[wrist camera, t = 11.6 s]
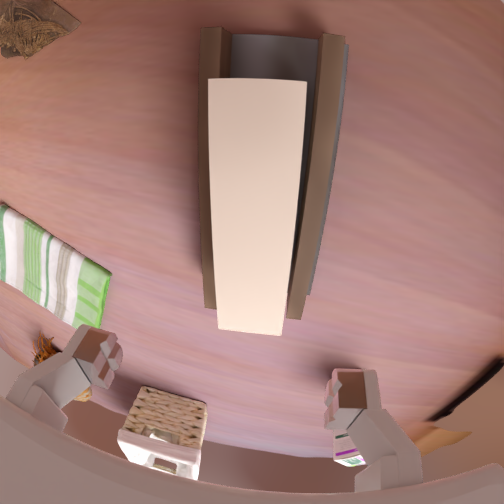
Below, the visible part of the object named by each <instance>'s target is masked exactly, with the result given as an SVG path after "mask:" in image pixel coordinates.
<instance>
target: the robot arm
mask: <svg viewBox="0 0 504 504" xmlns="http://www.w3.org/2000/svg"><path fill="white" fill-rule="evenodd" d="M117 339H118V338H117V336H116V334H115V333H112V332H109V331H105V330H102V329H98V328H95V327H92V326H89V325H85V324H82V325H80V326H79V327H78V329H77V330H76V332H75V333H74V335H73V336H72V338H71V339H70V341H69V343H68V344H67V346H66V347H65V349H64V350H63V352H62V353H61V352H59V353H57V354H55V355H53V356H52V357H50V358H48V359H46V360H45V361H43V362H41V363H39V364H38V365H36V366H34V367H32V368H31V369H29V370H27V371H26V372H24V373H22V374H20V375H19V376H18V378H17V380H16V381H15V383H14V385H13V386H12V388H11V390H10V391H9V393H8V395H7V397H6V398H4V397H2V396H1V395H0V504H504V469H503V468H502V467H501V466H500V465H498V464H495V463H494V464H489V465H486V466H484V467H480V468H478V469H475V470H471V471H468V472H465V473H461V474H458V475H454V476H451V477H447V478H443V479H439V480H434V481H430V482H425V483H423V475H422V465H421V455H420V450H419V449H418V448H417V447H416V446H415V444H414V443H413V442H412V441H411V439H410V438H409V437H408V436H407V435H406V433H405V432H404V431H403V430H402V429H401V427H400V426H399V425H398V424H397V422H396V421H395V420H394V419H393V418H392V416H391V415H390V414H389V413H388V411H387V410H386V409H382V407H381V399H380V392H379V385H378V378H377V372H376V371H375V370H361V369H340V368H335V369H334V370H333V372H332V379H330V380H328V383H327V385H326V390H325V404H326V406H327V407H328V409H327V410H326V412H325V429H333V430H346V432H347V433H348V435H349V437H350V438H351V440H352V442H353V443H354V445H355V446H356V448H357V450H358V451H359V453H360V455H361V456H362V458H363V460H364V461H365V463H366V464H367V466H368V467H367V468H366V469H364V470H363V471H361V472H360V473H358V474H357V475H356V476H355V492H350V493H322V494H318V493H316V494H314V493H311V494H310V493H284V492H270V491H260V490H251V489H243V488H236V487H229V486H223V485H218V484H212V483H207V482H202V481H198V480H193V479H189V478H185V477H180V476H177V475H173V474H169V473H165V472H162V471H158V470H155V469H152V468H149V467H145V466H142V465H139V464H136V463H133V462H130V461H128V460H125V459H122V458H119V457H117V456H114V455H111V454H109V453H107V452H104V451H102V450H99V449H97V448H94V447H92V446H90V445H88V444H86V443H83V442H81V441H79V440H77V439H75V438H72V437H70V436H69V435H67V434H65V433H63V430H64V427H65V425H66V423H67V421H68V418H67V416H66V415H65V414H64V413H63V412H62V411H61V408H62V407H64V406H65V405H66V404H67V403H69V402H70V401H71V400H73V399H74V398H75V397H77V396H78V395H79V394H80V393H82V392H83V391H84V390H86V389H87V388H88V387H89V386H91V384H93V385H96V386H99V387H102V388H105V389H108V390H109V387H110V385H111V383H112V381H113V379H114V377H115V376H114V371H115V370H116V369H118V368H119V367H120V364H121V362H122V357H123V351H122V348H121V346H120V345H119V344H118V343H117V342H116V341H117Z"/></svg>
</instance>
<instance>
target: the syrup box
mask: <svg viewBox="0 0 504 504" xmlns="http://www.w3.org/2000/svg"><path fill="white" fill-rule="evenodd" d="M333 459H334V461H337V462H339V463H341V464H343V465H346V466H348V467H351V466H358V465H363V464H366V463H365V461H364V460H363V458H362V456H361V455H360V453H359V451H358V450H357V448H356V446H355V445H354V443H353V442H352V440H351V438H350V437H349V435H348V433H347V432H346V430H333Z"/></svg>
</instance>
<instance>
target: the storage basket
mask: <svg viewBox="0 0 504 504" xmlns="http://www.w3.org/2000/svg"><path fill="white" fill-rule="evenodd" d="M206 409H207V405H206V404H205V403H203V402H200V401H196V400H192V399H189V398H185V397H181V396H178V395H175V394H171V393H168V392H165V391H161V390H157V389H155V388H152V387H146V386H142V387H141V388H140V391H139V393H138V394H137V398H136V399H135V400H134V403H133V406H132V407H131V409H130V411H129V415H128V416H127V419H126V421H125V424H124V426H123V427H122V428H121V429H119V432H118V438H117V441H118V444H119V446H120V448H121V449H122V451H123V452H124V454H125V455H126V456H127V457H128V460H129V461H130V462H133V463H136V464H139V465H142V466H145V467H149V468H152V469H155V470H158V471H162V472H165V473H169V474H173V475H177V476H180V477H185V478H189V479H193V480H197V479H198V474H199V466H200V461H201V446H202V441H203V435H204V432H205V428H206V423H207V421H206V420H207V414H208V413H207V410H206ZM156 457H158V458H161V459H165V460H167V461H170V462H173V463H176V464H177V469H176V470H175V469H171V468H167V467H164V466H161V465H158V464H154V459H155V458H156Z"/></svg>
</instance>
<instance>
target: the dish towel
mask: <svg viewBox="0 0 504 504" xmlns="http://www.w3.org/2000/svg"><path fill="white" fill-rule="evenodd" d="M110 276H112V273H110V272H109V271H107V270H106V269H105V268H103V267H102V266H100V265H98V264H96V263H95V262H93V261H92V260H90V259H88V258H87V257H85V256H84V255H82V254H81V253H79V252H78V251H76V250H75V249H74V248H72V247H71V246H69V245H68V244H66V243H65V242H63V241H61V240H60V239H58V238H56V237H54V236H53V235H51V234H50V233H49V232H47V231H46V230H45V229H43V228H42V227H40V226H39V225H37V224H36V223H35V222H33V221H32V220H30V219H29V218H27V217H25V216H23V215H21V214H20V213H18V212H17V211H15V210H13V209H11V208H9V207H8V206H7V205H5V204H3V205H0V279H1V280H2V281H4V282H6V283H8V284H10V285H12V286H13V287H15V288H17V289H18V290H20V291H22V292H23V293H24V294H25V295H26V296H28V297H29V298H30V299H32V300H33V301H34V302H36V303H38V304H39V305H41V306H43V307H45V308H46V309H48V310H49V311H51V312H52V313H53V314H54V315H55V316H57V317H58V318H59V319H61V320H62V321H64V322H66V323H68V324H69V325H71V326H72V327H74V328H76V329H78V327H79V326H80V325H82V324H85V325H89V326H92V327H95V328H98V329H99V328H100V325H101V319H102V315H103V311H104V306H105V299H106V294H107V291H108V286H109V281H110Z"/></svg>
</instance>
